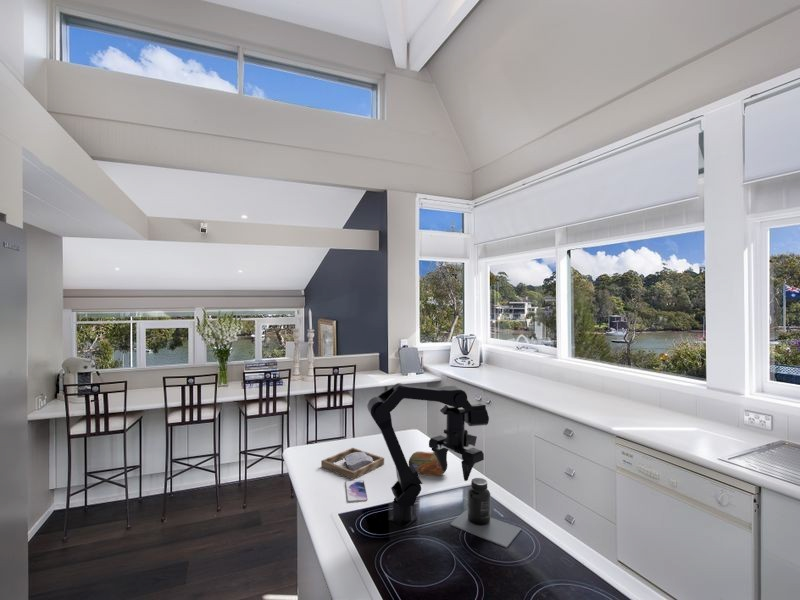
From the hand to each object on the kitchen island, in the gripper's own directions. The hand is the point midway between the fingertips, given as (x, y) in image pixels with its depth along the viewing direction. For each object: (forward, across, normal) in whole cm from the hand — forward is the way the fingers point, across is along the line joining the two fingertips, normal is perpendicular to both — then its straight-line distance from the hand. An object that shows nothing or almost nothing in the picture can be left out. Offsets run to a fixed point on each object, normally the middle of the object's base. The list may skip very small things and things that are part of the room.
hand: (454, 475), depth 129 cm
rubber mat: (+12, -11, -1) cm, 17 cm away
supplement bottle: (+12, -8, -2) cm, 14 cm away
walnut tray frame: (+12, +51, +5) cm, 52 cm away
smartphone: (+13, +32, +16) cm, 38 cm away
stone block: (+13, +50, +3) cm, 52 cm away
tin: (+12, +26, -14) cm, 32 cm away
